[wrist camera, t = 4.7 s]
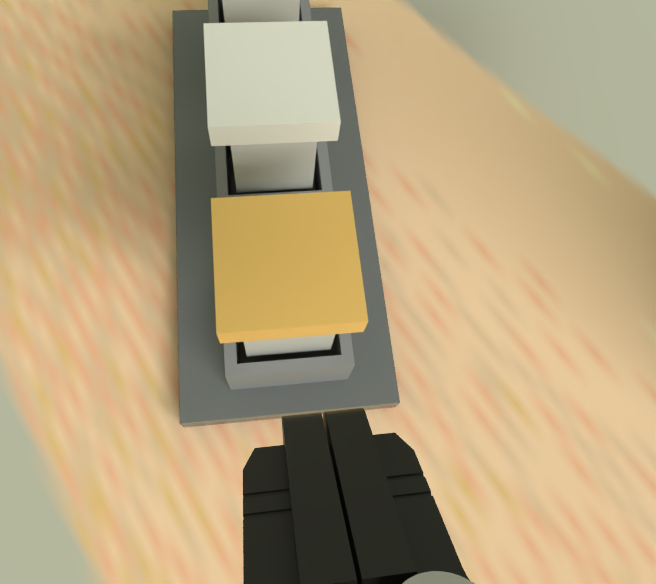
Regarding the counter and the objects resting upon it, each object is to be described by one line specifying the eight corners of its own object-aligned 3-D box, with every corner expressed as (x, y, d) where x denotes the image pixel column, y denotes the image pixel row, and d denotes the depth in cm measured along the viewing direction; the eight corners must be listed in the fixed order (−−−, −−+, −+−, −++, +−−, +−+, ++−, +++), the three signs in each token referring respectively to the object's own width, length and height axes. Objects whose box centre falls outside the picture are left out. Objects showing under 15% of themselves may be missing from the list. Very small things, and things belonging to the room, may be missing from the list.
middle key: (218, 118, 29) (203, 23, 23) (317, 114, 29) (326, 20, 24) (222, 206, 27) (207, 127, 21) (328, 200, 28) (340, 121, 22)
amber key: (225, 265, 26) (210, 198, 20) (335, 258, 27) (350, 190, 21) (231, 374, 24) (216, 333, 19) (348, 364, 25) (368, 321, 19)
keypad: (176, 26, 35) (163, -31, 31) (338, 23, 36) (345, -33, 32) (183, 427, 27) (168, 413, 23) (395, 406, 28) (412, 391, 24)
